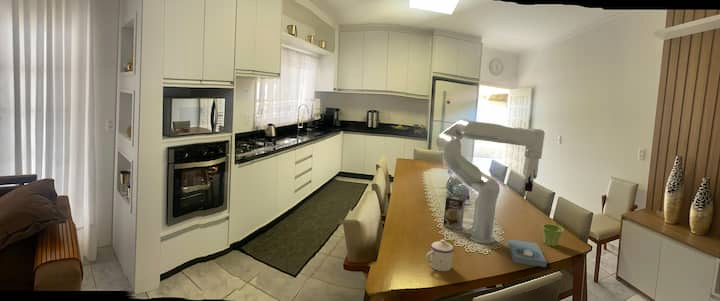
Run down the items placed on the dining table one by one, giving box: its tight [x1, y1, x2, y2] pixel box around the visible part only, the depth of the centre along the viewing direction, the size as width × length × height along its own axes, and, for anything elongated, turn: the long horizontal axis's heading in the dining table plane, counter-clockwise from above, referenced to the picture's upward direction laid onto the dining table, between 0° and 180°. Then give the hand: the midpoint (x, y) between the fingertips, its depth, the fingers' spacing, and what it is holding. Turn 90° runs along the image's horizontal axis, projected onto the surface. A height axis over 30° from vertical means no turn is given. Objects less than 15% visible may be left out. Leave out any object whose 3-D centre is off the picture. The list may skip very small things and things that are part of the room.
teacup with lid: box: [425, 239, 454, 272], centre depth 156 cm, size 12×9×12 cm
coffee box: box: [442, 194, 466, 231], centre depth 202 cm, size 9×6×16 cm
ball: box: [523, 249, 533, 257], centre depth 168 cm, size 4×4×4 cm
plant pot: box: [541, 223, 565, 247], centre depth 186 cm, size 9×9×9 cm
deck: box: [507, 238, 548, 268], centre depth 173 cm, size 20×13×2 cm, turn 167°
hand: (528, 190), depth 188 cm, fingers closed
